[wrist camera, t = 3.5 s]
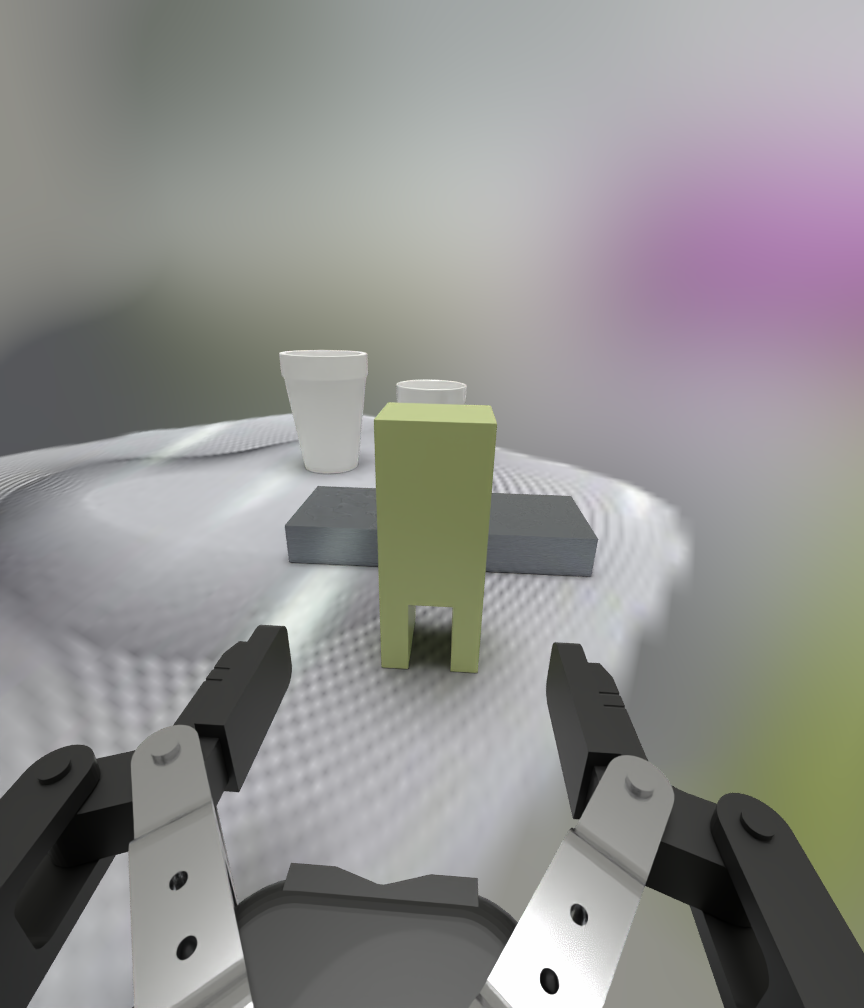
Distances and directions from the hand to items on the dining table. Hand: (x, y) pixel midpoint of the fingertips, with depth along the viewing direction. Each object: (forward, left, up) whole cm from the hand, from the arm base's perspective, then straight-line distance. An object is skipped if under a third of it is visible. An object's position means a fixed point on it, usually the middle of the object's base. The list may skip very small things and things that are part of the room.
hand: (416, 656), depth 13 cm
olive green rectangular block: (0, +9, -8) cm, 12 cm away
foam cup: (-14, +40, -8) cm, 43 cm away
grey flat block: (0, +21, -8) cm, 23 cm away
